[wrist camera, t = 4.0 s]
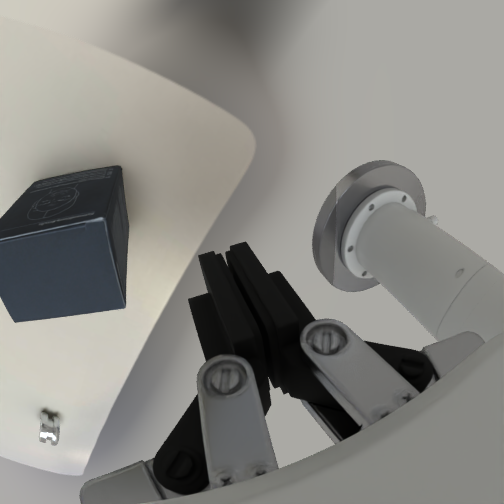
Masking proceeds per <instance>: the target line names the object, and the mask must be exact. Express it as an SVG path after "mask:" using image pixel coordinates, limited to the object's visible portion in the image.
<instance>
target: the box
mask: <svg viewBox="0 0 504 504" xmlns="http://www.w3.org/2000/svg"><path fill="white" fill-rule="evenodd" d="M128 238H129V223H128V216H127V210H126V203H125V195H124V187H123V178H122V168H121V166H112V167H105V168H99V169H93V170H88V171H82V172H77V173H72V174H67V175H62V176H58V177H53V178H49V179H44V180H40V181H36V182H34V183H33V184H32V185H31V186H30V187H29V188H28V189H27V190H26V191H25V192H24V193H23V194H22V195H21V196H20V198H19V199H18V200H17V201H16V202H15V203H14V204H13V205H12V206H11V207H10V208H9V210H8V211H7V212H6V213H5V214H4V215H3V216H2V217H1V219H0V297H1V299H2V301H3V303H4V305H5V307H6V309H7V311H8V312H9V314H10V316H11V318H12V319H13V321H14V322H15V323H16V322H25V321H33V320H42V319H50V318H58V317H65V316H73V315H80V314H88V313H95V312H103V311H109V310H117V309H124V308H126V275H127V253H128Z"/></svg>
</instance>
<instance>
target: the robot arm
mask: <svg viewBox="0 0 504 504" xmlns="http://www.w3.org/2000/svg"><path fill="white" fill-rule="evenodd" d="M437 224H438V219H437V217H436V216H431V217H428V218H426V217H424V216H423V215H421V214H419V213H418V212H417V209H416V206H415V203H414V201H413V199H412V198H411V197H410V196H409V195H408V194H407V193H405V192H404V191H402V190H400V189H396V188H385V189H381V190H379V191H377V192H375V193H373V194H371V195H370V196H369V197H367V198H366V199H365V200H364V201H363V202H362V203H361V204H360V205H359V206H358V207H357V209H356V210H355V211H354V213H353V214H352V216H351V217H350V219H349V221H348V223H347V225H346V228H345V230H344V233H343V237H342V242H341V256H342V260H343V263H344V265H345V266H346V268H347V269H348V270H349V271H350V272H351V273H352V274H353V275H355V276H357V277H360V278H372V277H374V278H375V279H376V280H377V281H378V282H379V283H380V284H381V285H382V286H383V287H385V288H386V289H387V290H388V291H389V292H390V293H391V294H392V295H393V296H394V297H395V298H396V299H397V300H398V301H399V302H400V303H401V304H402V305H403V306H404V307H405V308H406V309H407V310H408V311H409V312H410V313H411V314H412V315H413V316H414V317H415V318H416V319H417V320H418V321H419V322H420V323H421V324H422V325H423V326H424V327H425V328H426V329H427V331H428V332H430V334H432V336H433V337H434V338H435V339H436V340H437V341H438V342H436V343H434V344H431V345H428V346H425V347H423V349H422V351H416V350H412V349H407V348H401V347H395V346H389V345H384V344H378V343H373V342H368V341H363V340H362V339H361V338H360V337H359V336H358V335H356V334H355V333H354V332H353V331H352V330H351V329H350V328H349V327H348V326H346V325H345V324H343V323H342V322H340V321H337V320H334V319H320V320H316V319H315V318H314V317H313V315H312V314H311V313H310V311H309V310H308V308H307V307H306V306H305V304H304V303H303V302H302V300H301V299H300V298H299V296H298V295H297V294H296V292H295V291H294V289H293V288H292V287H291V286H290V284H289V283H288V281H287V280H286V279H285V277H284V276H283V275H282V273H281V272H280V271H276V272H273V273H269V274H268V273H267V272H266V270H265V269H264V267H263V266H262V264H261V263H260V262H259V260H258V259H257V257H256V256H255V254H254V253H253V251H252V250H251V248H250V247H249V245H248V244H247V242H243V243H239V244H235V245H232V246H230V251H226V253H225V254H226V259H227V264H228V266H227V264H226V262H225V260H224V258H223V256H222V255H221V253H220V254H217V255H215V253H214V251H211V252H208V253H205V254H201V255H198V257H199V261H200V265H201V269H202V272H203V276H204V280H205V283H206V286H207V290H208V293H206V294H203V295H200V296H196V297H193V298H189V299H188V301H189V305H190V309H191V312H192V315H193V319H194V323H195V326H196V330H197V333H198V337H199V340H200V343H201V346H202V350H203V353H204V356H205V359H206V362H205V363H204V365H203V366H202V367H201V368H200V370H199V372H198V374H197V390H198V394H197V395H196V397H195V398H194V400H193V402H192V403H191V404H190V406H189V407H188V409H187V410H186V412H185V413H184V415H183V416H182V418H181V419H180V420H179V422H178V424H177V425H176V426H175V428H174V429H173V431H172V432H171V433H170V435H169V436H168V438H167V439H166V441H165V442H164V444H163V445H162V446H161V448H160V449H159V451H158V452H157V454H156V456H155V458H153V459H151V460H148V461H146V462H144V461H143V460H141V461H139V462H137V463H134V464H132V465H129V466H127V467H124V468H121V469H119V470H116V471H114V472H111V473H108V474H105V475H103V476H100V477H97V478H94V479H91V480H89V481H87V482H86V483H84V485H83V486H82V488H81V490H80V501H81V504H504V274H503V273H502V272H500V271H499V270H498V269H497V268H495V267H494V266H493V265H491V264H490V263H488V262H487V261H486V260H484V259H483V258H482V257H480V256H479V255H478V254H476V253H475V252H474V251H472V250H471V249H469V248H468V247H466V246H465V245H464V244H462V243H461V242H460V241H458V240H456V239H455V238H454V237H452V236H451V235H449V234H448V233H446V232H445V231H443V230H442V229H440V228H439V227H437V226H436V225H437ZM268 377H269V379H270V381H271V383H272V385H273V387H274V388H278V387H280V388H281V390H282V392H283V394H286V393H289V394H290V396H291V397H294V398H297V399H300V400H301V402H302V404H303V405H304V407H305V408H306V409H307V410H308V412H309V413H310V414H311V415H312V417H313V418H314V419H315V420H316V422H317V423H318V424H319V425H320V426H321V428H322V429H323V430H324V431H325V432H326V434H327V435H328V436H329V437H330V438H331V440H332V441H333V442H334V443H335V445H333V446H331V447H329V448H327V449H325V450H323V451H320V452H318V453H316V454H314V455H311V456H309V457H307V458H305V459H302V460H300V461H297V462H295V463H293V464H290V465H287V466H285V467H282V468H280V469H279V468H278V464H277V461H276V457H275V453H274V450H273V446H272V442H271V439H270V435H269V431H268V428H267V424H266V420H265V416H266V414H267V412H268V410H269V408H270V406H271V399H270V392H269V391H270V385H269V379H268Z"/></svg>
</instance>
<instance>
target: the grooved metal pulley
mask: <svg viewBox="0 0 504 504" xmlns="http://www.w3.org/2000/svg"><path fill="white" fill-rule="evenodd" d="M59 433H60V421H59V418H58V417H56V416H53V419H50V418H48V414H47V413H44V412H42V414H41V421H40V432H39V441H40V442H44V443H46V439H48V440H51V445H54V446H55V445H57V444H58V441H59Z"/></svg>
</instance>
